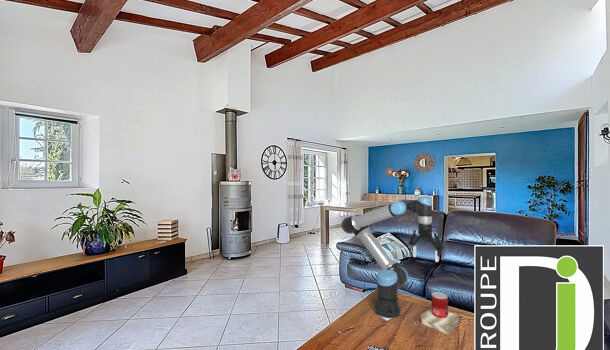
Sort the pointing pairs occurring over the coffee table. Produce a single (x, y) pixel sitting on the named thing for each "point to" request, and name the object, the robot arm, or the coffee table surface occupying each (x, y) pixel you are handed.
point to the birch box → (440, 321)
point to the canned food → (439, 304)
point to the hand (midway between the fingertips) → (425, 259)
